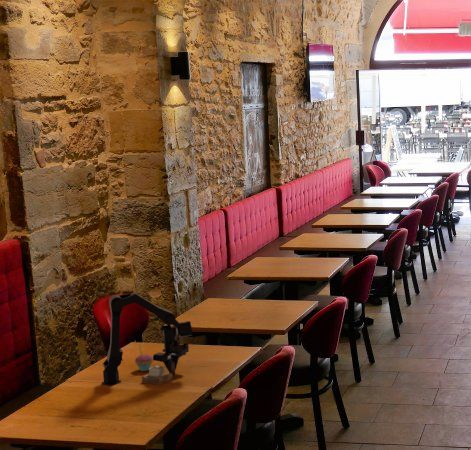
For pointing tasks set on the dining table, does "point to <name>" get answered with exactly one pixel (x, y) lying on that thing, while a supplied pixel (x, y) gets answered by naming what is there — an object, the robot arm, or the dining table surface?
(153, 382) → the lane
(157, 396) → the dining table surface
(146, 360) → the cupcake
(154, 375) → the block with cord
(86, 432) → the dining table surface
